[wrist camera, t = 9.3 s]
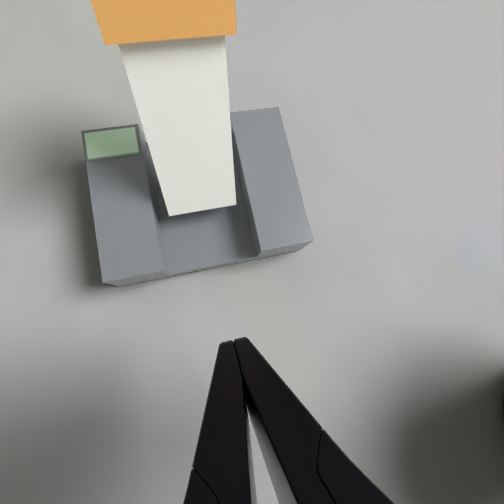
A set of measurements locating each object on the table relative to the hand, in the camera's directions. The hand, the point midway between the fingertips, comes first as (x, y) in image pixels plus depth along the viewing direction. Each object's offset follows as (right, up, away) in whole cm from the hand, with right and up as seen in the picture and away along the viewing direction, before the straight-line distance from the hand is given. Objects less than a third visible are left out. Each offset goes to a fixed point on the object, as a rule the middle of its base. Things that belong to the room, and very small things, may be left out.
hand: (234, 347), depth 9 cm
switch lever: (-3, +6, +9) cm, 11 cm away
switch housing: (-3, +6, +11) cm, 13 cm away
